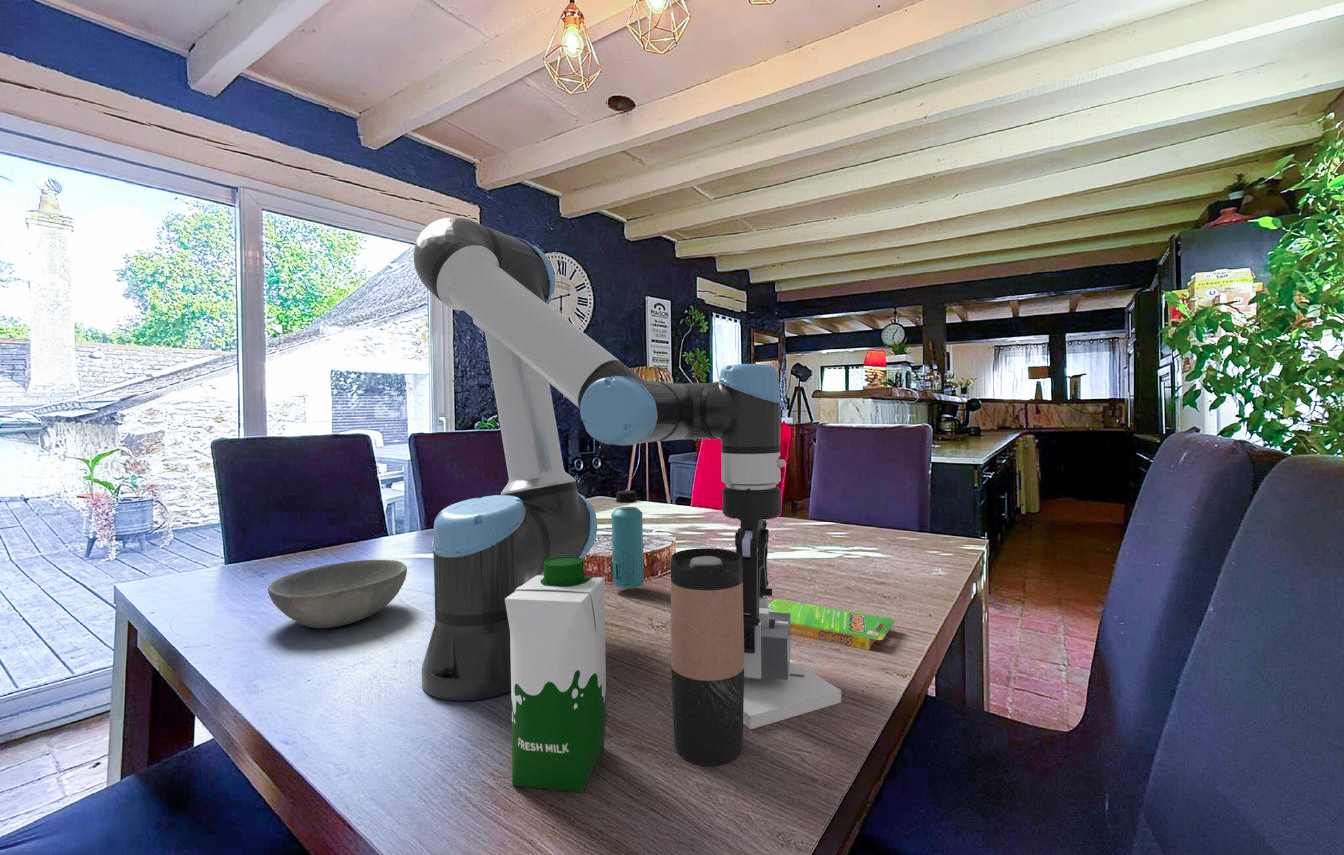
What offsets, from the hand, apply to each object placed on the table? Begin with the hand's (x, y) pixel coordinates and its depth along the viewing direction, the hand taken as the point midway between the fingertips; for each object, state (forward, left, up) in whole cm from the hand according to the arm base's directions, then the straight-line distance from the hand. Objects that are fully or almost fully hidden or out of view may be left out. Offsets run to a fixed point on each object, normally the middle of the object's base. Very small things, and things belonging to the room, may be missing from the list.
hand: (754, 659), depth 74 cm
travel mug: (-12, -9, -3) cm, 16 cm away
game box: (+20, +11, -4) cm, 23 cm away
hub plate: (0, 0, -3) cm, 3 cm away
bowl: (-50, +53, -3) cm, 73 cm away
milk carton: (-27, -6, -3) cm, 28 cm away
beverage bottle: (0, +44, -3) cm, 44 cm away
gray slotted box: (0, 0, 0) cm, 0 cm away
